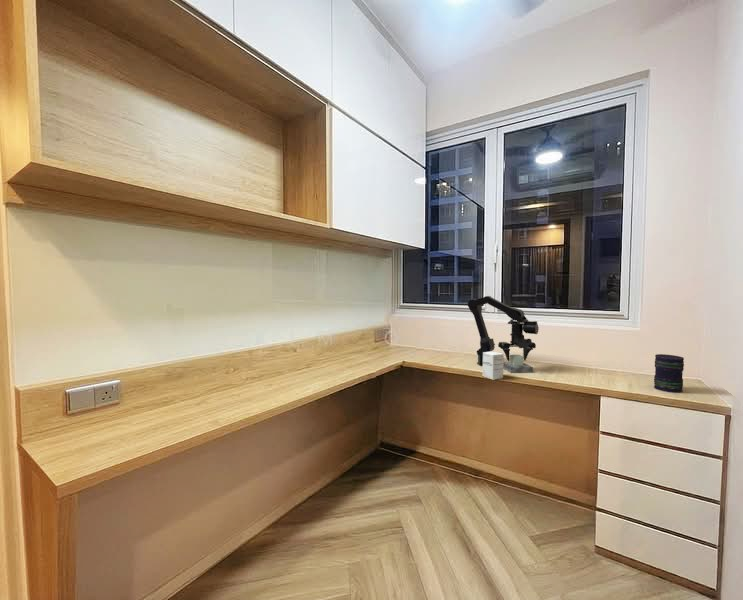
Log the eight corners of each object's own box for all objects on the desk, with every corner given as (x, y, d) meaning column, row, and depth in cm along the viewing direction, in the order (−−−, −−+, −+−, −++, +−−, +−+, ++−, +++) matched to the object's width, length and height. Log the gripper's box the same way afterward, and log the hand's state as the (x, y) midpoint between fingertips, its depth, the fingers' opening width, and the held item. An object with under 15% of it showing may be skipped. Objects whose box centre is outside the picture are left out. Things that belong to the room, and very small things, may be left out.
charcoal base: (510, 373, 180) (511, 367, 180) (500, 367, 192) (501, 362, 192) (532, 372, 181) (532, 367, 181) (521, 367, 193) (521, 361, 193)
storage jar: (669, 386, 157) (671, 354, 156) (689, 393, 147) (690, 359, 146) (647, 386, 157) (649, 354, 156) (665, 392, 147) (667, 359, 146)
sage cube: (514, 365, 184) (514, 356, 184) (509, 363, 189) (509, 354, 189) (523, 365, 184) (523, 356, 184) (518, 363, 189) (518, 354, 189)
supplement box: (481, 376, 174) (482, 352, 174) (492, 374, 177) (493, 350, 177) (492, 380, 168) (493, 354, 167) (503, 378, 171) (504, 353, 170)
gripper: (507, 334, 177) (506, 364, 178) (541, 334, 178) (541, 363, 179) (498, 331, 188) (497, 359, 189) (530, 331, 189) (530, 359, 190)
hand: (516, 360), depth 186 cm, fingers open, 9 cm apart
